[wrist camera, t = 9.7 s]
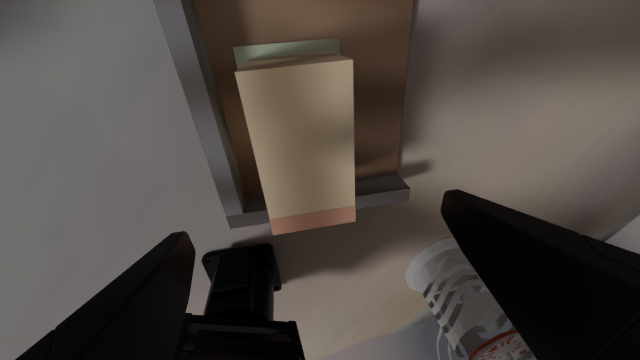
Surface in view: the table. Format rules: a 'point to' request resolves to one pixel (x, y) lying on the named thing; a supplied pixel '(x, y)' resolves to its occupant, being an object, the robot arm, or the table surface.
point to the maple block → (302, 137)
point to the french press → (461, 284)
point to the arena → (281, 40)
